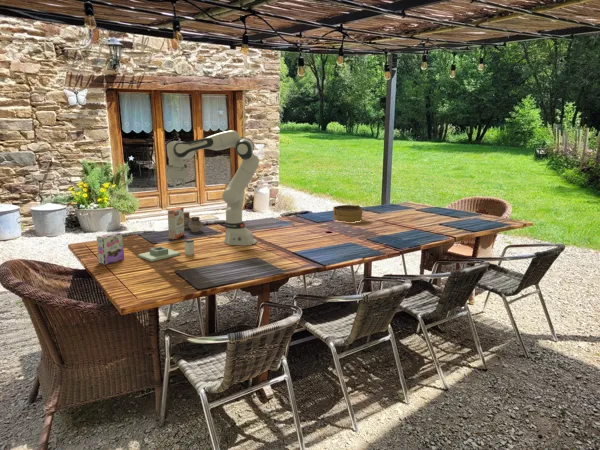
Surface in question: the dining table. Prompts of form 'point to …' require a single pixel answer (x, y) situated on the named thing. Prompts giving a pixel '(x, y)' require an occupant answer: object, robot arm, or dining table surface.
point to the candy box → (110, 248)
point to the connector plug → (189, 247)
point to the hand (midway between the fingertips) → (179, 186)
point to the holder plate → (158, 254)
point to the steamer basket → (347, 213)
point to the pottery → (192, 222)
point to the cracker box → (176, 222)
